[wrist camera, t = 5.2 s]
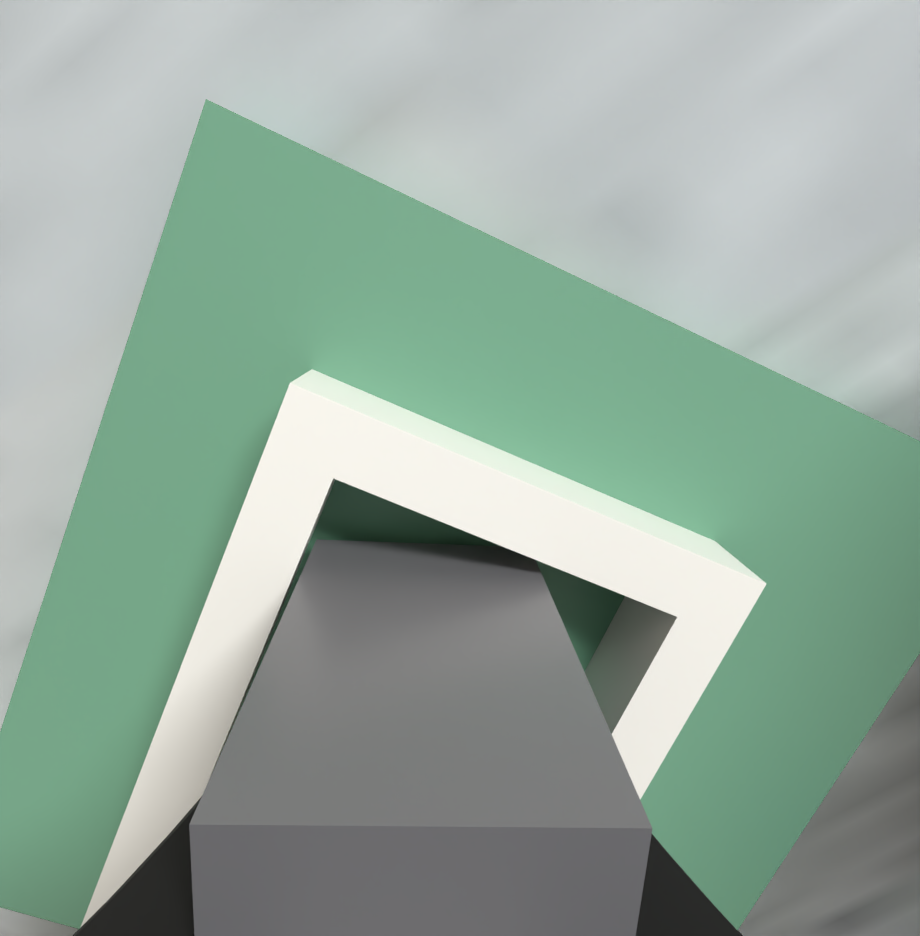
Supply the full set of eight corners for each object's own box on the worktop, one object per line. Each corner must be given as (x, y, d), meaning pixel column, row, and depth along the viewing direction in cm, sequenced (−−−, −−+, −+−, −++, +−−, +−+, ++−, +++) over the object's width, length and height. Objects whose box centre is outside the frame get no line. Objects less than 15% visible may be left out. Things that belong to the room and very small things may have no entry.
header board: (988, 480, 12) (1131, 524, 10) (625, 1044, 16) (665, 1188, 13) (222, 114, 10) (156, 53, 8) (-25, 858, 13) (-129, 988, 11)
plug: (530, 547, 11) (651, 828, 5) (503, 838, 12) (575, 1318, 6) (316, 539, 11) (188, 824, 5) (313, 837, 12) (213, 1335, 6)
